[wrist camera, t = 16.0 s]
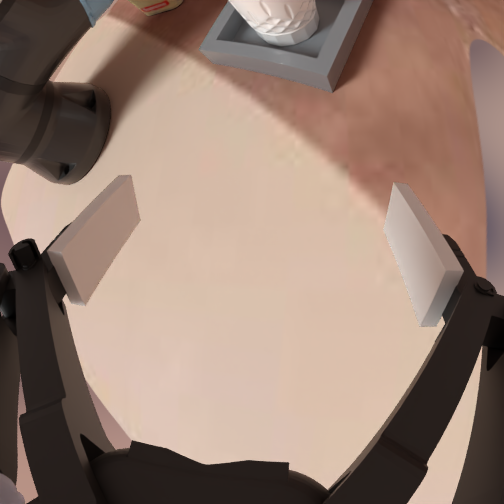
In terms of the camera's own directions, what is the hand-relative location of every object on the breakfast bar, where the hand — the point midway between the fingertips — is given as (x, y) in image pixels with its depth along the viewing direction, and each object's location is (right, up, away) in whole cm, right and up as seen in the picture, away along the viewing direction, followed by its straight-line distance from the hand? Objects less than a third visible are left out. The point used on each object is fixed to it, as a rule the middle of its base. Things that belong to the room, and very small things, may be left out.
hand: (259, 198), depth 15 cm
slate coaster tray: (+4, +22, +12) cm, 25 cm away
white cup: (+3, +21, +11) cm, 24 cm away
